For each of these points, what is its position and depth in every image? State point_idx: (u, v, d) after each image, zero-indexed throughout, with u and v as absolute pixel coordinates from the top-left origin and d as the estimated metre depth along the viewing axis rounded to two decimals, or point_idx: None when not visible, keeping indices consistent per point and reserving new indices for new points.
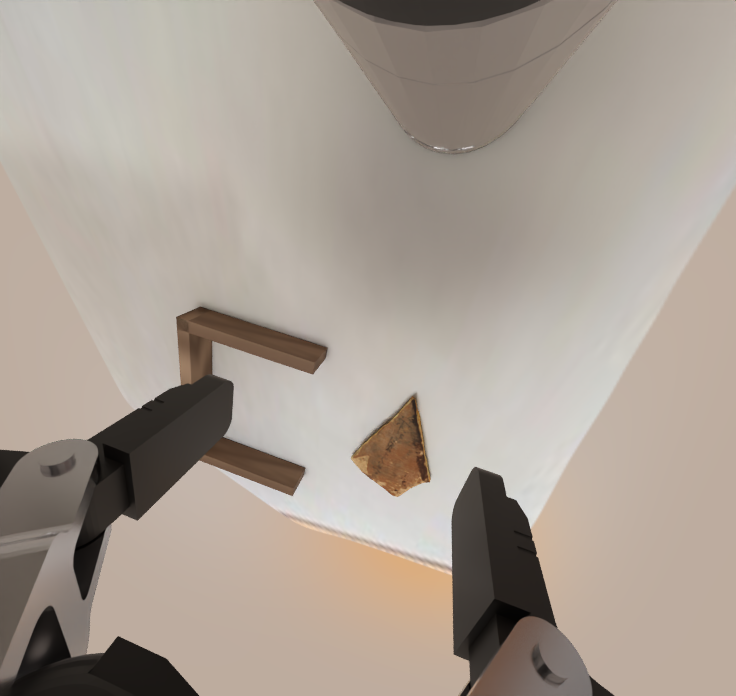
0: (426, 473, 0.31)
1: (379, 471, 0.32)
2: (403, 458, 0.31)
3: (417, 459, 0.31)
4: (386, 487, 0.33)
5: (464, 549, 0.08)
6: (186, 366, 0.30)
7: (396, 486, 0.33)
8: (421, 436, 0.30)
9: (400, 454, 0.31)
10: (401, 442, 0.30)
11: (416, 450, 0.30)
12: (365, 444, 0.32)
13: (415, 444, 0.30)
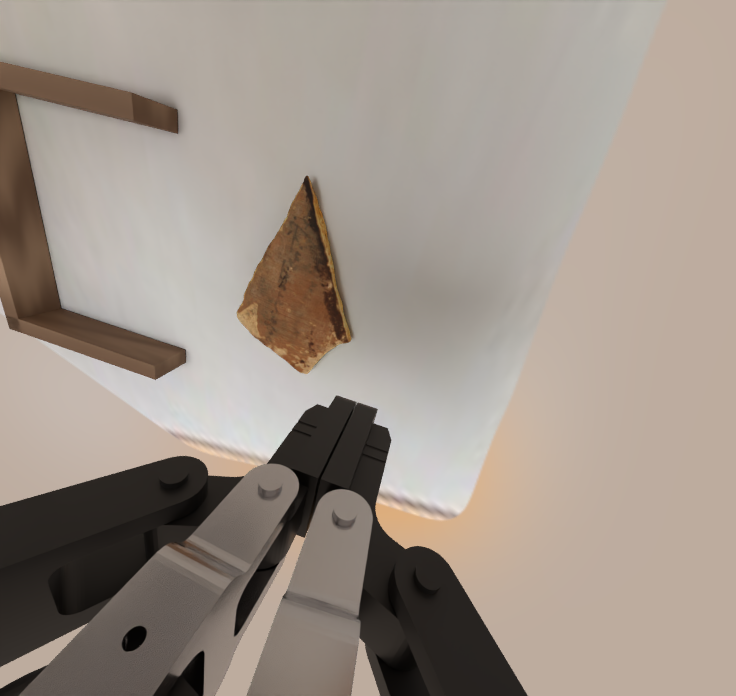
0: (342, 324, 0.21)
1: (274, 329, 0.21)
2: (305, 299, 0.20)
3: (325, 298, 0.20)
4: (288, 357, 0.22)
5: None
6: None
7: (301, 354, 0.22)
8: (326, 253, 0.19)
9: (299, 291, 0.20)
10: (299, 268, 0.20)
11: (321, 281, 0.20)
12: (250, 283, 0.21)
13: (319, 269, 0.19)
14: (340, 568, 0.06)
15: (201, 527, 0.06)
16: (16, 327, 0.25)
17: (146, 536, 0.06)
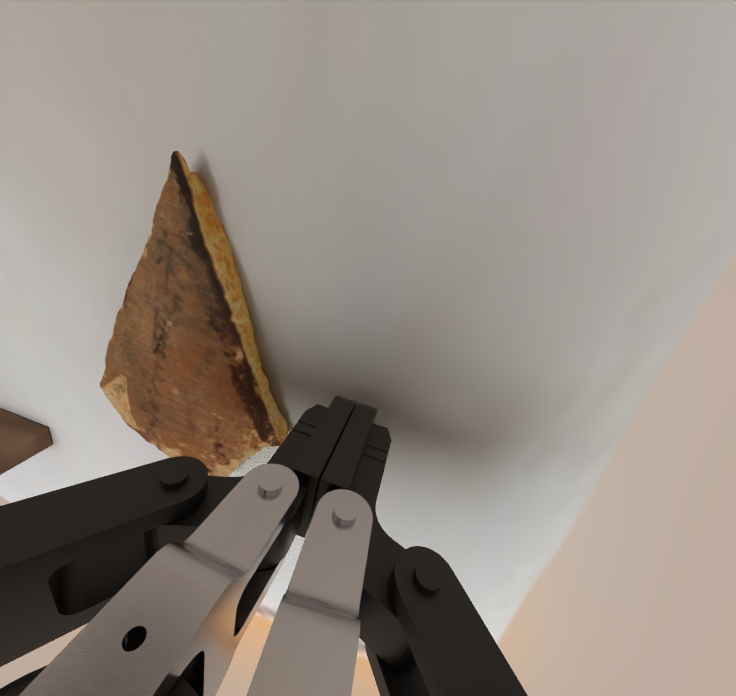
0: (266, 419, 0.12)
1: (157, 418, 0.13)
2: (200, 375, 0.11)
3: (233, 376, 0.11)
4: None
5: None
6: None
7: (205, 460, 0.13)
8: (228, 298, 0.10)
9: (188, 362, 0.11)
10: (183, 324, 0.11)
11: (223, 348, 0.11)
12: (110, 343, 0.12)
13: (218, 326, 0.10)
14: (340, 567, 0.06)
15: (201, 527, 0.06)
16: None
17: (146, 536, 0.06)
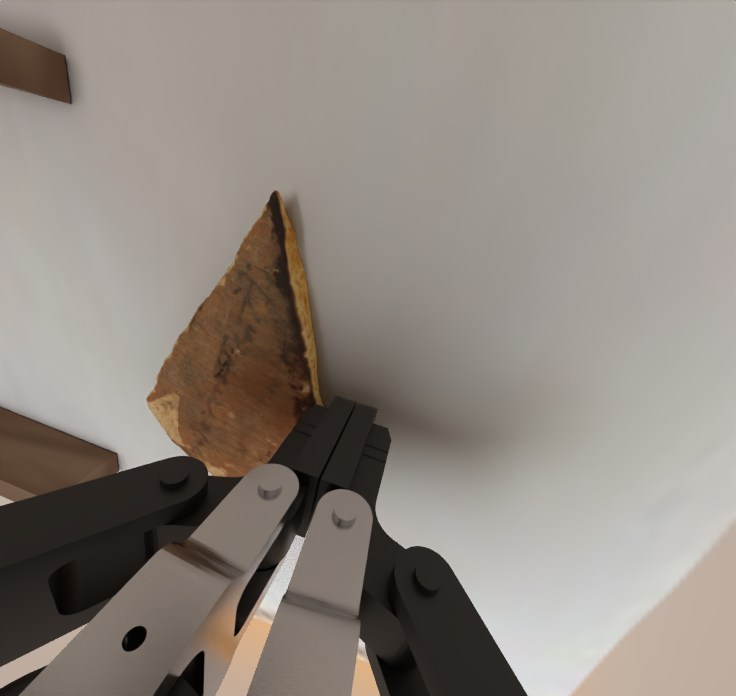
0: None
1: (206, 438, 0.13)
2: (261, 404, 0.11)
3: (296, 407, 0.11)
4: None
5: None
6: None
7: None
8: (304, 335, 0.10)
9: (250, 390, 0.11)
10: (252, 354, 0.11)
11: (291, 380, 0.11)
12: (167, 361, 0.12)
13: (289, 360, 0.11)
14: (340, 568, 0.06)
15: (201, 527, 0.06)
16: None
17: (146, 536, 0.06)
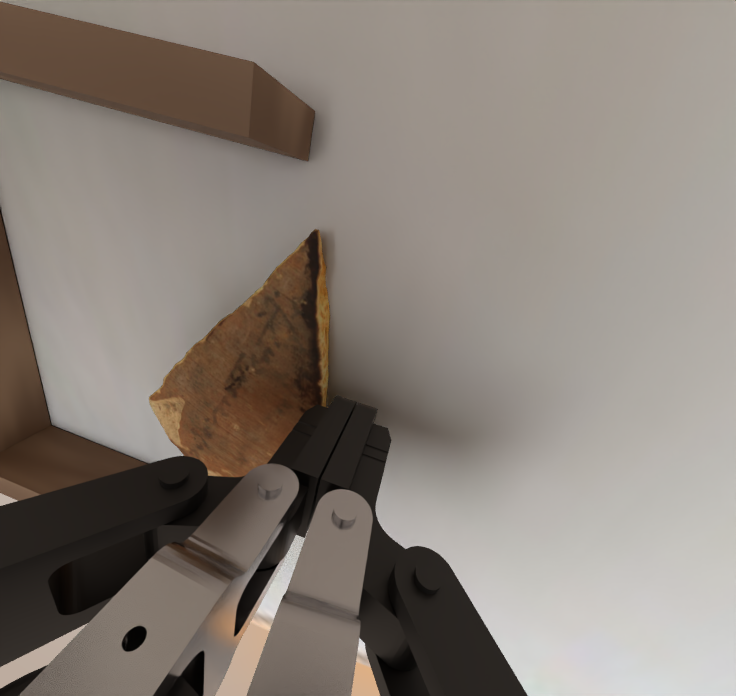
0: None
1: (207, 444, 0.13)
2: (268, 420, 0.12)
3: None
4: None
5: None
6: None
7: None
8: (321, 365, 0.11)
9: (259, 407, 0.12)
10: (266, 374, 0.11)
11: (301, 404, 0.11)
12: (177, 366, 0.12)
13: (302, 386, 0.11)
14: (340, 567, 0.06)
15: (201, 527, 0.06)
16: None
17: (146, 536, 0.06)
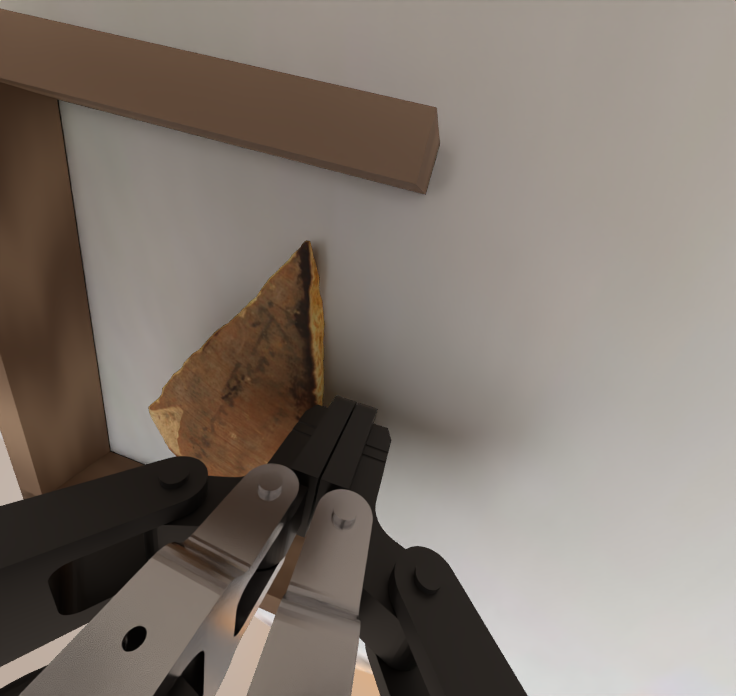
0: None
1: (205, 453, 0.13)
2: (265, 429, 0.12)
3: None
4: None
5: None
6: None
7: None
8: (316, 373, 0.11)
9: (255, 415, 0.12)
10: (262, 383, 0.11)
11: (297, 412, 0.11)
12: (175, 376, 0.12)
13: (298, 394, 0.11)
14: (340, 567, 0.06)
15: (201, 527, 0.06)
16: None
17: (146, 536, 0.06)
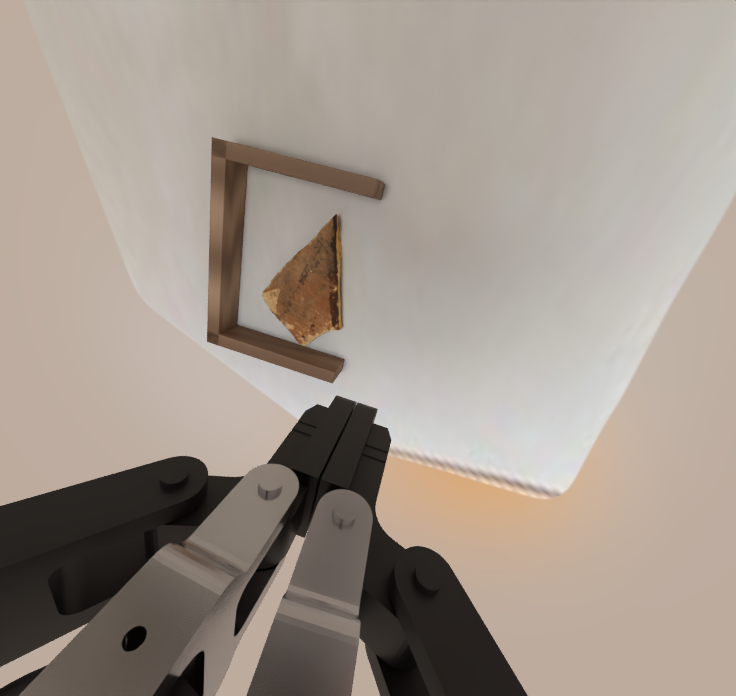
0: (337, 317, 0.29)
1: (288, 309, 0.30)
2: (316, 294, 0.29)
3: (330, 296, 0.29)
4: (293, 332, 0.31)
5: None
6: (218, 209, 0.26)
7: (304, 331, 0.30)
8: (338, 267, 0.28)
9: (313, 287, 0.29)
10: (316, 272, 0.28)
11: (330, 284, 0.28)
12: (278, 274, 0.29)
13: (330, 276, 0.28)
14: (340, 567, 0.06)
15: (201, 527, 0.06)
16: (213, 341, 0.31)
17: (146, 536, 0.06)
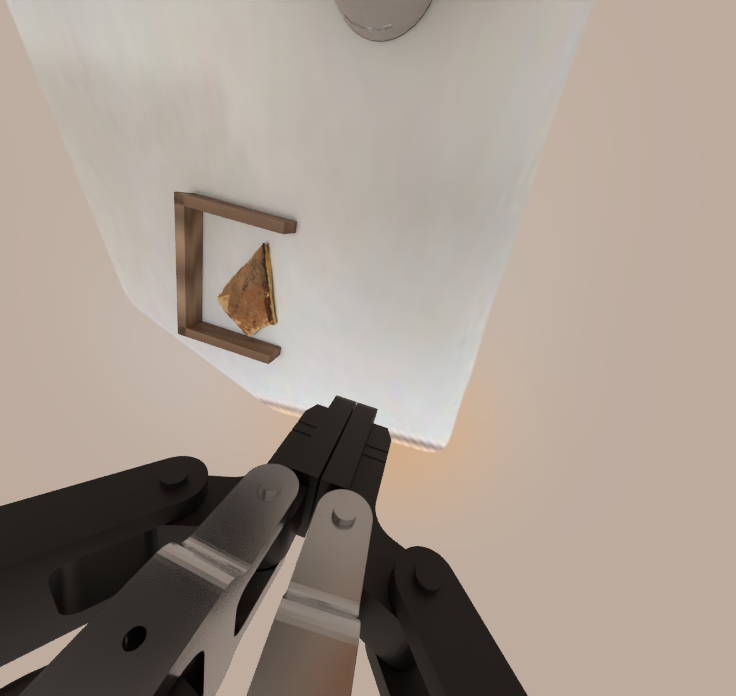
0: (271, 315, 0.40)
1: (236, 310, 0.41)
2: (255, 298, 0.40)
3: (265, 300, 0.39)
4: (241, 326, 0.41)
5: None
6: (181, 239, 0.37)
7: (248, 326, 0.41)
8: (268, 279, 0.38)
9: (252, 294, 0.39)
10: (253, 283, 0.39)
11: (264, 292, 0.39)
12: (227, 284, 0.40)
13: (264, 286, 0.39)
14: (340, 567, 0.06)
15: (201, 527, 0.06)
16: (182, 333, 0.42)
17: (146, 536, 0.06)
